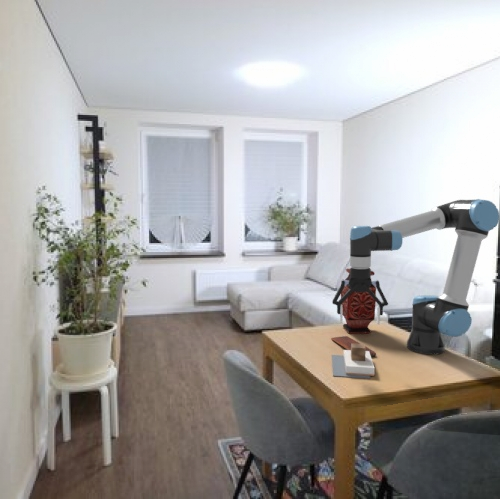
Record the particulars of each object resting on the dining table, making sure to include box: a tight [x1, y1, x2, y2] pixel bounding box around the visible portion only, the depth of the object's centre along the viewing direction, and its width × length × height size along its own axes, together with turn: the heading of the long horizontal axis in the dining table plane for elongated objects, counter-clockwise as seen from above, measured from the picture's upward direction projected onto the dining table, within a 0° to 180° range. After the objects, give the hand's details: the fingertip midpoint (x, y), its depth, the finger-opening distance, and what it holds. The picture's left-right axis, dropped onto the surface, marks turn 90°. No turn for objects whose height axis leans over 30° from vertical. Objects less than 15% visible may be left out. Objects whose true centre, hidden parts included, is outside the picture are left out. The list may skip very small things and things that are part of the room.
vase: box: [340, 268, 377, 335], centre depth 213 cm, size 14×14×30 cm
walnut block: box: [351, 343, 366, 361], centre depth 166 cm, size 5×5×5 cm
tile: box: [342, 349, 376, 377], centre depth 167 cm, size 3×18×10 cm
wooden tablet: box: [331, 335, 377, 357], centre depth 189 cm, size 27×10×2 cm, turn 12°
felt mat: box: [331, 354, 371, 379], centre depth 167 cm, size 13×22×1 cm, turn 171°
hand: (359, 323), depth 165 cm, fingers open, 13 cm apart
